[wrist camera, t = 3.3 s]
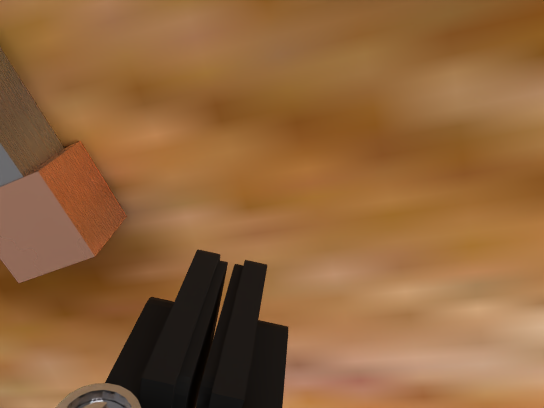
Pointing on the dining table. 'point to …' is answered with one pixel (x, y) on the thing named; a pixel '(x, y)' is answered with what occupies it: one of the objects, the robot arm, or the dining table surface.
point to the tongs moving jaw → (46, 190)
